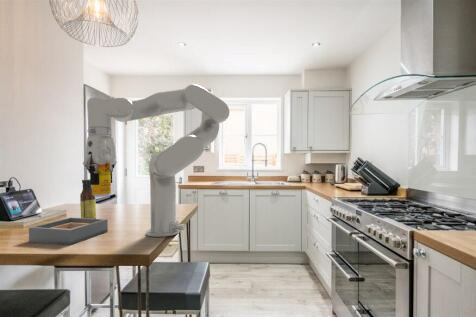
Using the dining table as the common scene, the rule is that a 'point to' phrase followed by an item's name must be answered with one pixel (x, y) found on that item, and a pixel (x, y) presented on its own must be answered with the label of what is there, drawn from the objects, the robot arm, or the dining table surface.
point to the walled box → (68, 230)
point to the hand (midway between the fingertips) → (101, 183)
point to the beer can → (103, 180)
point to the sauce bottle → (87, 201)
